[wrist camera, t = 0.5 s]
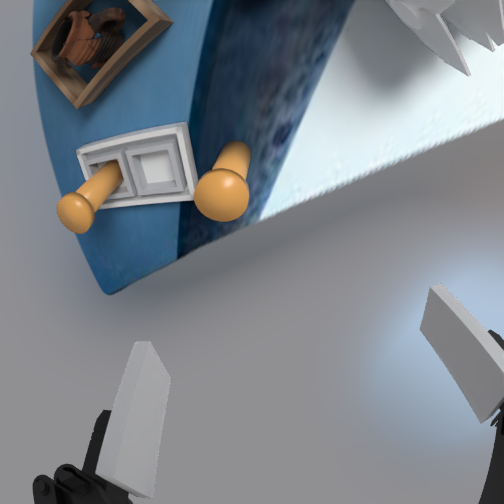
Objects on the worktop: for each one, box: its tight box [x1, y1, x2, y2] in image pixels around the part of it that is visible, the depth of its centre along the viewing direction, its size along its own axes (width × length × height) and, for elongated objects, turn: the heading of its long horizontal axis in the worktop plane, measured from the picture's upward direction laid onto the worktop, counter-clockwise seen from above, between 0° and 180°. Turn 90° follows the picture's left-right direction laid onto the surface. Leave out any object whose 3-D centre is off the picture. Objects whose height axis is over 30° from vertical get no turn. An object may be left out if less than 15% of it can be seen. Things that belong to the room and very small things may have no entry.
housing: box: [76, 122, 199, 209], centre depth 36 cm, size 18×11×3 cm, turn 95°
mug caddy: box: [30, 0, 173, 109], centre depth 21 cm, size 14×16×4 cm
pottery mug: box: [50, 7, 126, 69], centre depth 21 cm, size 12×9×8 cm
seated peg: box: [57, 160, 124, 234], centre depth 33 cm, size 5×5×12 cm
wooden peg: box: [194, 141, 251, 222], centre depth 31 cm, size 5×5×12 cm
